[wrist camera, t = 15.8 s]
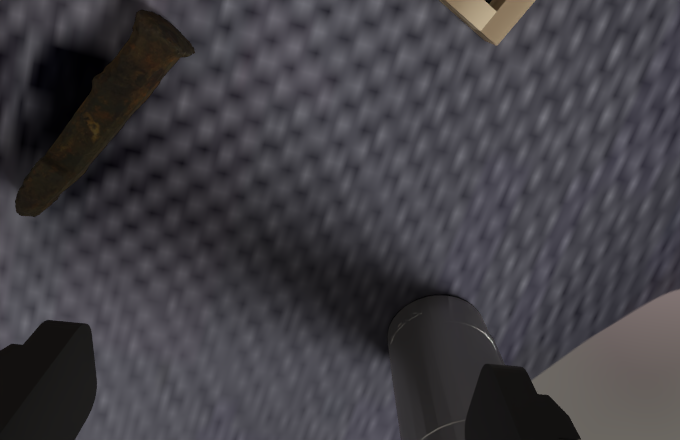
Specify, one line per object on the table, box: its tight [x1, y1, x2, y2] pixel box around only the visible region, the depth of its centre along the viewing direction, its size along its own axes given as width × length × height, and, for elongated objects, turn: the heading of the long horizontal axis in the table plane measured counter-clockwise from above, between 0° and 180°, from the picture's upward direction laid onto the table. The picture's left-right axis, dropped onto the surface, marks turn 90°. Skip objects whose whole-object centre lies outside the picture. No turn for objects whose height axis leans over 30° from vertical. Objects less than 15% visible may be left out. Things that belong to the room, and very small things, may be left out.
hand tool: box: [15, 10, 195, 217], centre depth 37 cm, size 19×4×5 cm, turn 133°
